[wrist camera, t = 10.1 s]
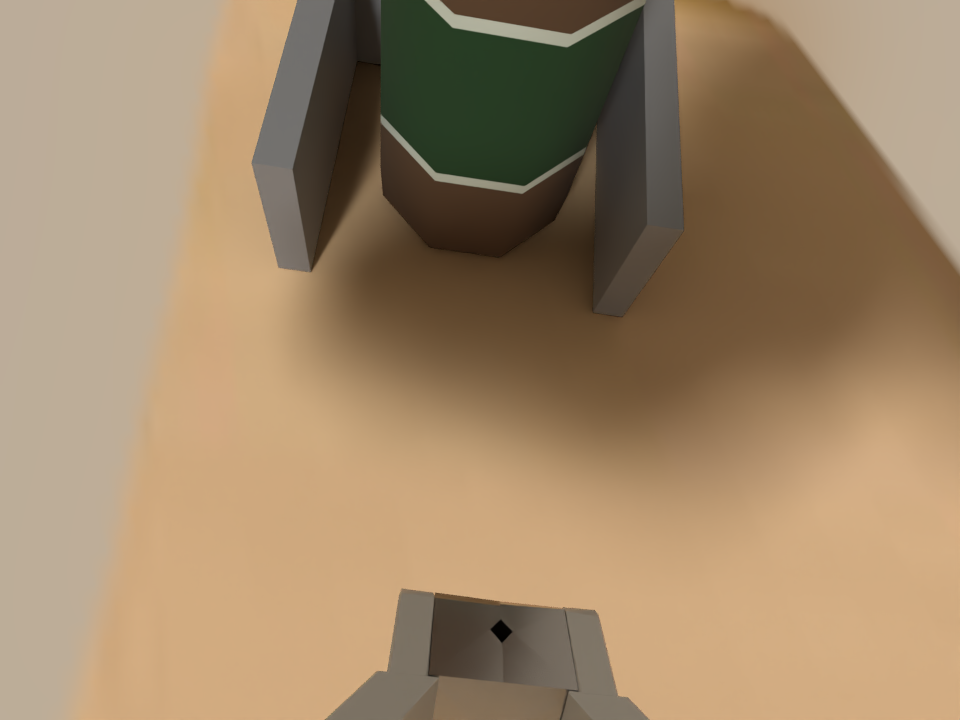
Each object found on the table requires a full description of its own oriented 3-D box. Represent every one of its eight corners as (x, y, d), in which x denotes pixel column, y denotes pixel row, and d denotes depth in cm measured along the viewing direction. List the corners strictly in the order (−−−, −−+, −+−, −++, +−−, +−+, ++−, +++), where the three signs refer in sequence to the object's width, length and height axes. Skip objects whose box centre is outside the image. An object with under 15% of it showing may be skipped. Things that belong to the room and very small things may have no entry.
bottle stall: (622, 86, 32) (672, -31, 26) (622, 316, 27) (684, 230, 21) (334, 36, 31) (325, -97, 25) (278, 267, 26) (251, 162, 20)
